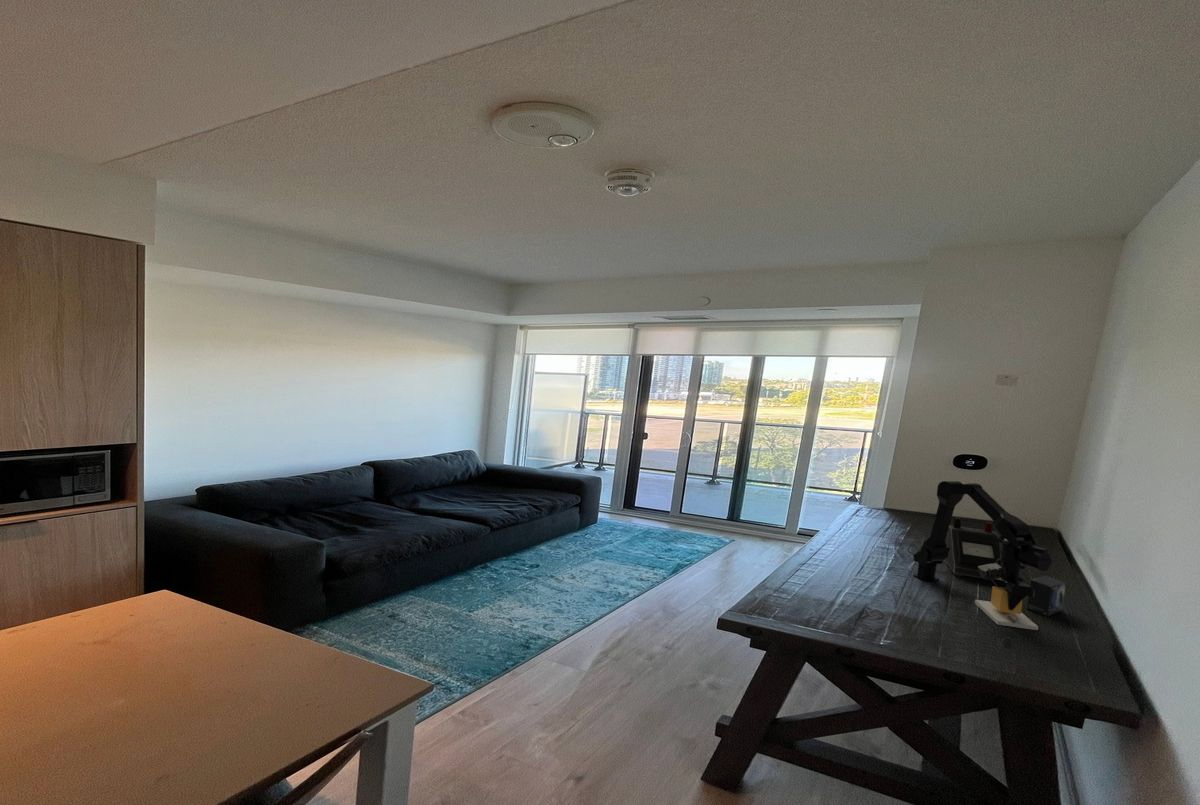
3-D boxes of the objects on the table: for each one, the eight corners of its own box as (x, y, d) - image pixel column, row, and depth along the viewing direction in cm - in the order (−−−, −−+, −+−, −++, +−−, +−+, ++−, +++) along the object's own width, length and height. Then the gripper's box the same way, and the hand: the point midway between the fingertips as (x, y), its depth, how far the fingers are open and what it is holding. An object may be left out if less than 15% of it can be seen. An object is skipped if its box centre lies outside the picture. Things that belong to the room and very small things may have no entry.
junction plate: (974, 603, 184) (976, 589, 184) (1011, 608, 181) (1012, 594, 181) (998, 625, 168) (999, 610, 168) (1038, 631, 165) (1040, 616, 165)
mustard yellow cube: (990, 603, 178) (992, 586, 178) (1011, 606, 177) (1013, 588, 177) (999, 611, 173) (1001, 593, 172) (1020, 614, 171) (1022, 596, 171)
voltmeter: (953, 577, 208) (959, 526, 206) (944, 563, 223) (949, 516, 221) (1003, 585, 202) (1009, 533, 200) (990, 570, 217) (995, 522, 215)
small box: (1048, 617, 176) (1051, 586, 175) (1025, 608, 182) (1028, 579, 181) (1063, 611, 181) (1067, 581, 180) (1040, 603, 186) (1044, 574, 186)
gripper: (970, 546, 185) (965, 590, 186) (996, 566, 166) (991, 614, 168) (1007, 551, 182) (1002, 595, 183) (1038, 571, 164) (1032, 620, 165)
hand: (1005, 605), depth 175 cm, fingers closed on mustard yellow cube, 6 cm apart
